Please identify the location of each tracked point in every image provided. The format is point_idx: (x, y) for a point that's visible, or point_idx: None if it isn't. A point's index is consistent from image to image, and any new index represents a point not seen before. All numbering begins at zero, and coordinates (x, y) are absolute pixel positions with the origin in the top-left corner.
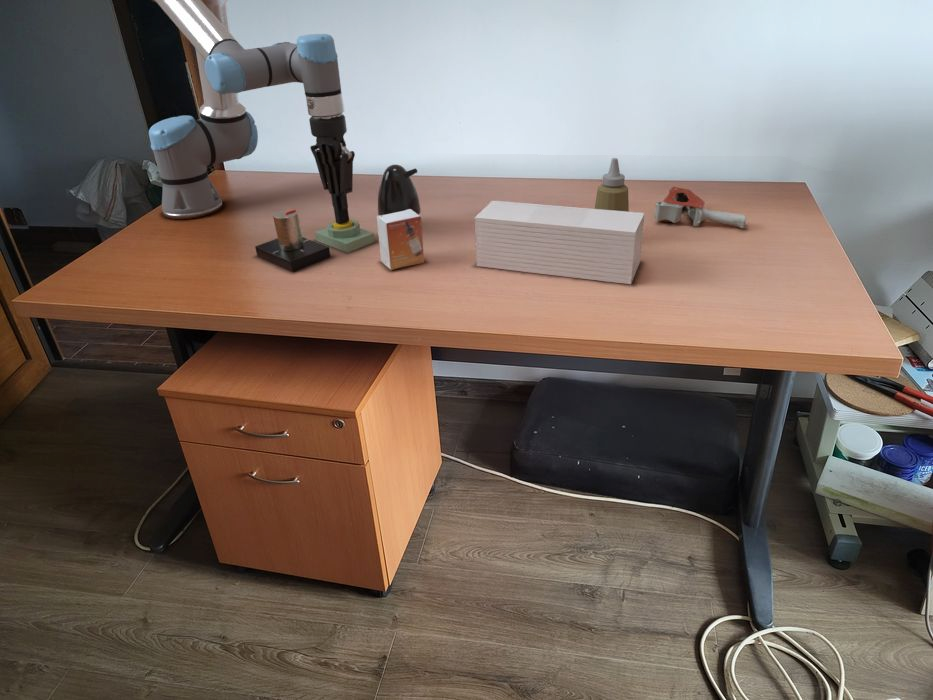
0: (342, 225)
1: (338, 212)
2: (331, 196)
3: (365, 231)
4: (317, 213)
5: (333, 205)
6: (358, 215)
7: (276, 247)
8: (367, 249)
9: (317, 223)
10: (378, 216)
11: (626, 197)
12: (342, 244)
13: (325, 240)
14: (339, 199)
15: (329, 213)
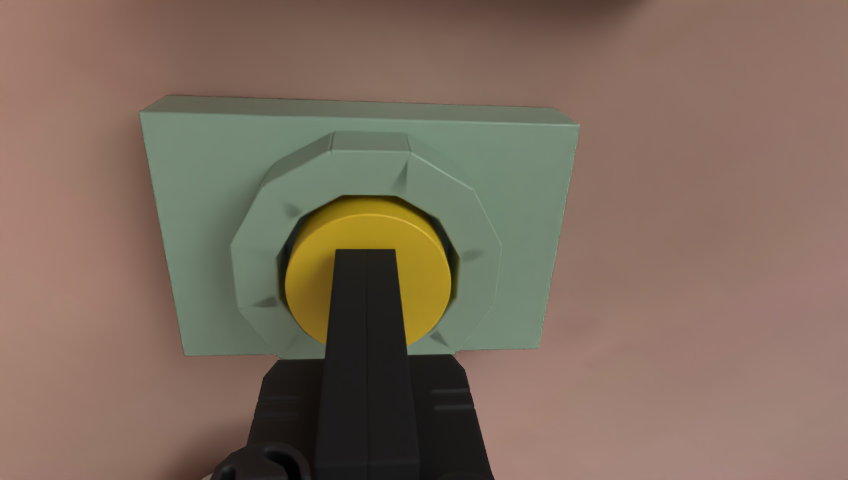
0: (314, 252)
1: (330, 315)
2: (482, 451)
3: (255, 341)
4: (843, 377)
5: (405, 353)
6: (607, 471)
7: None
8: (123, 218)
9: (751, 295)
10: None
11: None
12: (205, 108)
13: (438, 110)
14: (303, 452)
15: (776, 410)
